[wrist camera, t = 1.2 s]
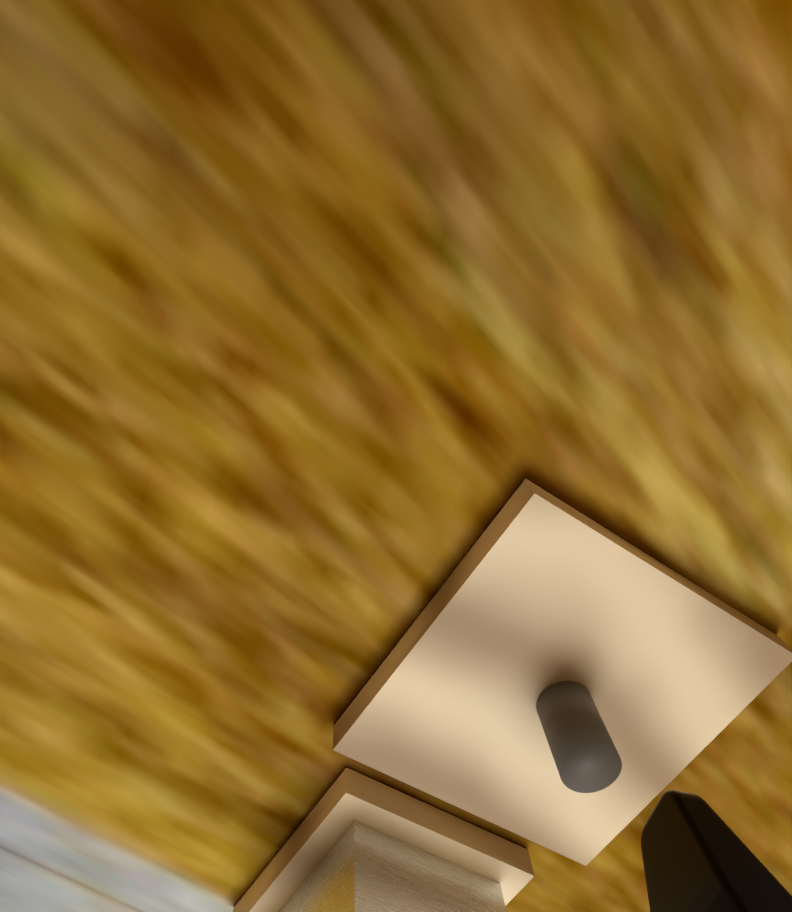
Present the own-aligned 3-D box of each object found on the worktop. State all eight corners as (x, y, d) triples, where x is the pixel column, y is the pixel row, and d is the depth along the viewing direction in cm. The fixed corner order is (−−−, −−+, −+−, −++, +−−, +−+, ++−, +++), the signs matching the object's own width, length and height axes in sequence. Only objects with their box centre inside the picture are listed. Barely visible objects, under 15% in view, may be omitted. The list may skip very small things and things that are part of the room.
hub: (576, 839, 29) (612, 942, 25) (333, 725, 26) (330, 821, 22) (777, 635, 25) (854, 716, 21) (525, 478, 22) (562, 538, 18)
